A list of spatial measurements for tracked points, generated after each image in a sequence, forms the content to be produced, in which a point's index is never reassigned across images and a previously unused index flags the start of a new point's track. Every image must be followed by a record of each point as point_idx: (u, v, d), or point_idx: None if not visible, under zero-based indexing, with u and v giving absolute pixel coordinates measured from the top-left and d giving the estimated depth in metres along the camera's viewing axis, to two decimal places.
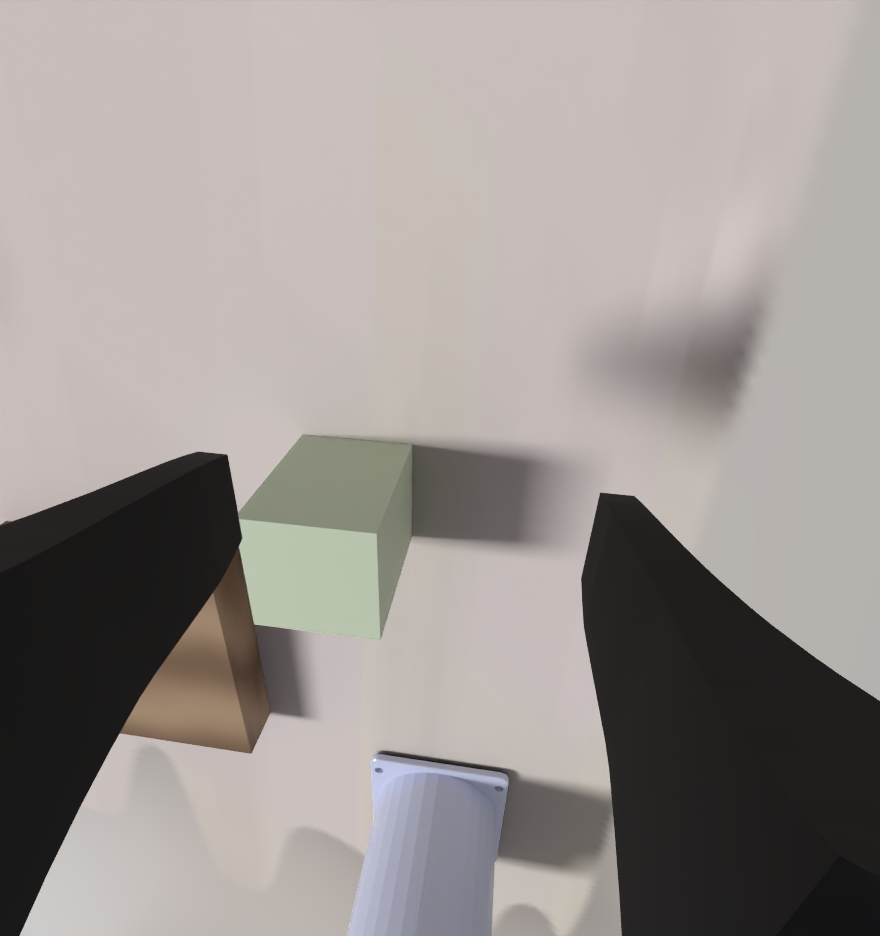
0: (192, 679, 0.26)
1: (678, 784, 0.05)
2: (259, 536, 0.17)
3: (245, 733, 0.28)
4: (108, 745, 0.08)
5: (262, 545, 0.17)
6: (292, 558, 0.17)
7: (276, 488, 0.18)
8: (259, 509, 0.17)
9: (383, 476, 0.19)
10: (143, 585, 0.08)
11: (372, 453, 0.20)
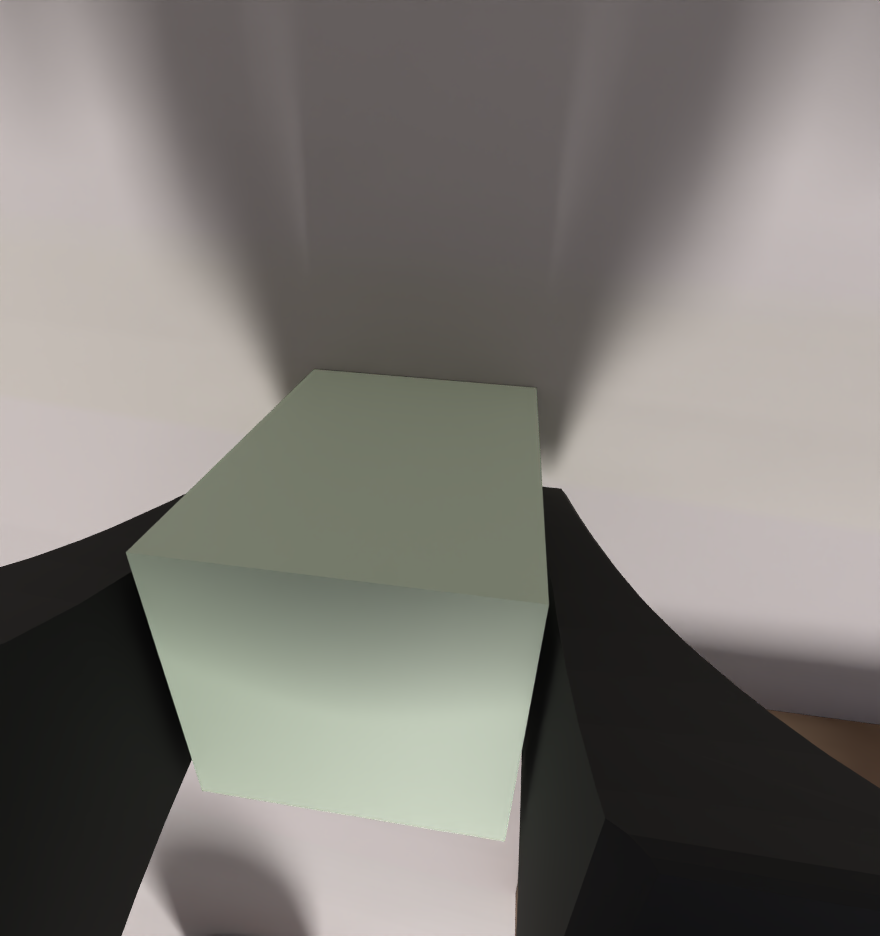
0: None
1: (548, 764, 0.05)
2: (232, 767, 0.08)
3: None
4: (188, 758, 0.08)
5: (254, 769, 0.07)
6: (272, 731, 0.07)
7: None
8: None
9: None
10: None
11: None
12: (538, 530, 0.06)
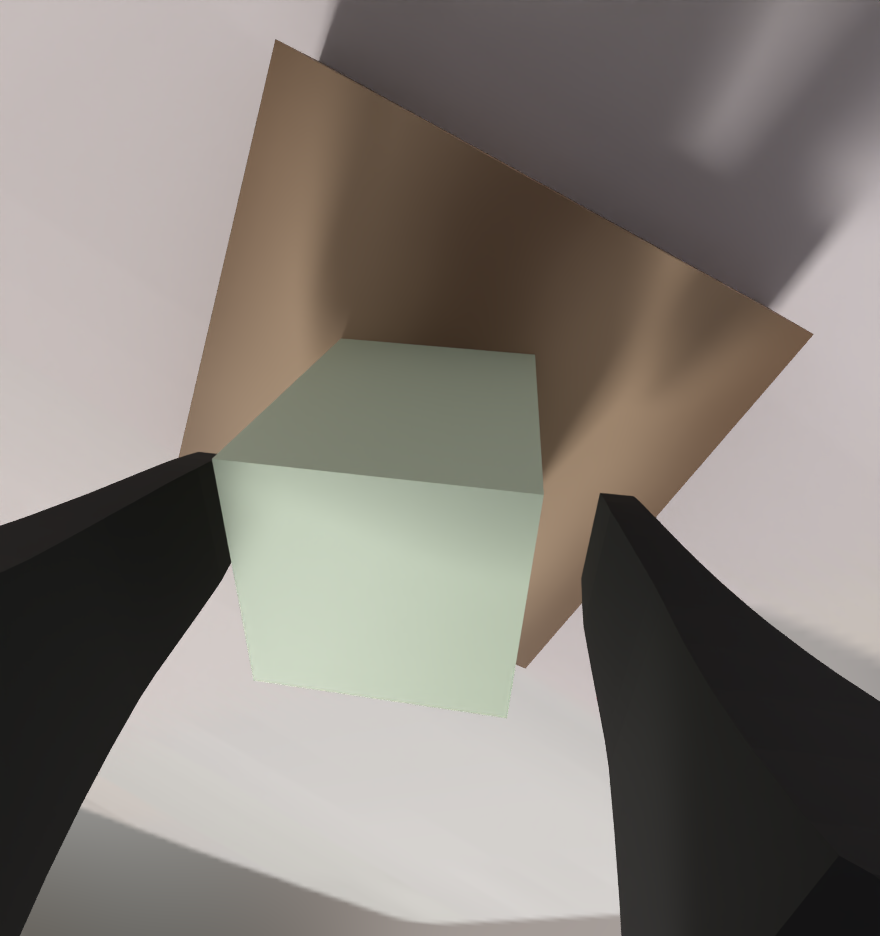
0: (527, 310, 0.12)
1: (677, 784, 0.05)
2: (281, 655, 0.09)
3: (741, 298, 0.11)
4: (108, 745, 0.08)
5: (300, 656, 0.09)
6: (318, 619, 0.09)
7: None
8: None
9: None
10: (143, 585, 0.08)
11: None
12: (535, 450, 0.08)
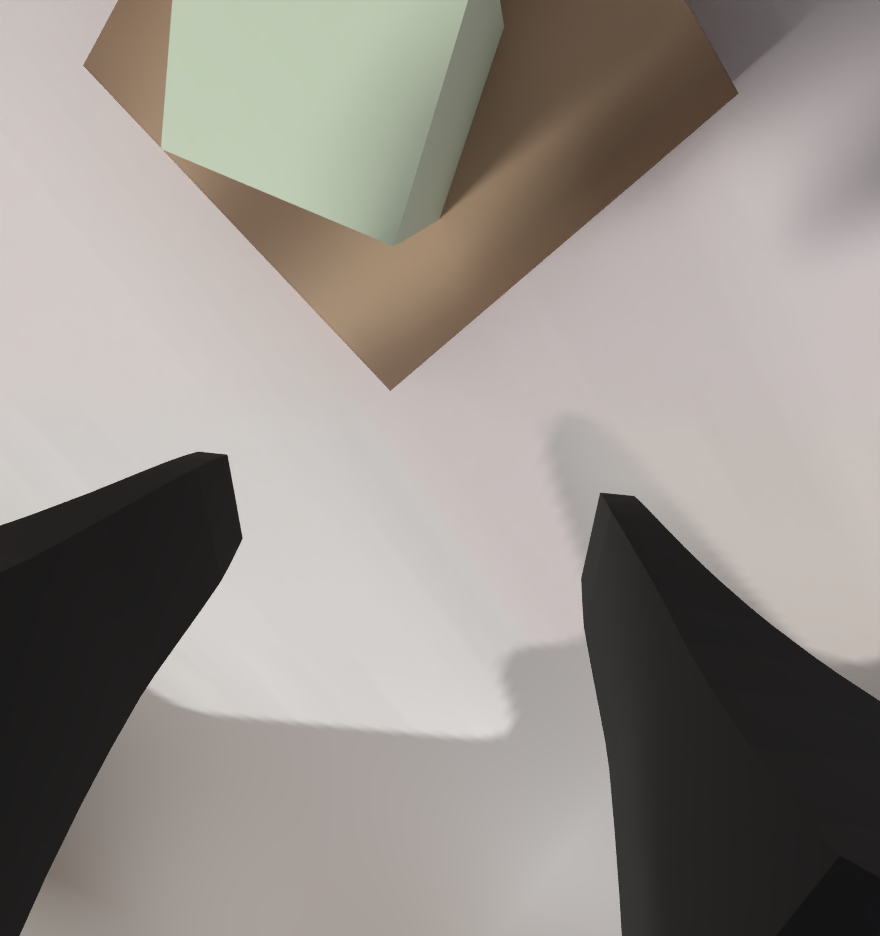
0: None
1: (678, 784, 0.05)
2: (197, 115, 0.09)
3: (698, 29, 0.12)
4: (108, 745, 0.08)
5: (216, 120, 0.09)
6: (245, 66, 0.09)
7: None
8: None
9: None
10: (143, 585, 0.08)
11: None
12: None
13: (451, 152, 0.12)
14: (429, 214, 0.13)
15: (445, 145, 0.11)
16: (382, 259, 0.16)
